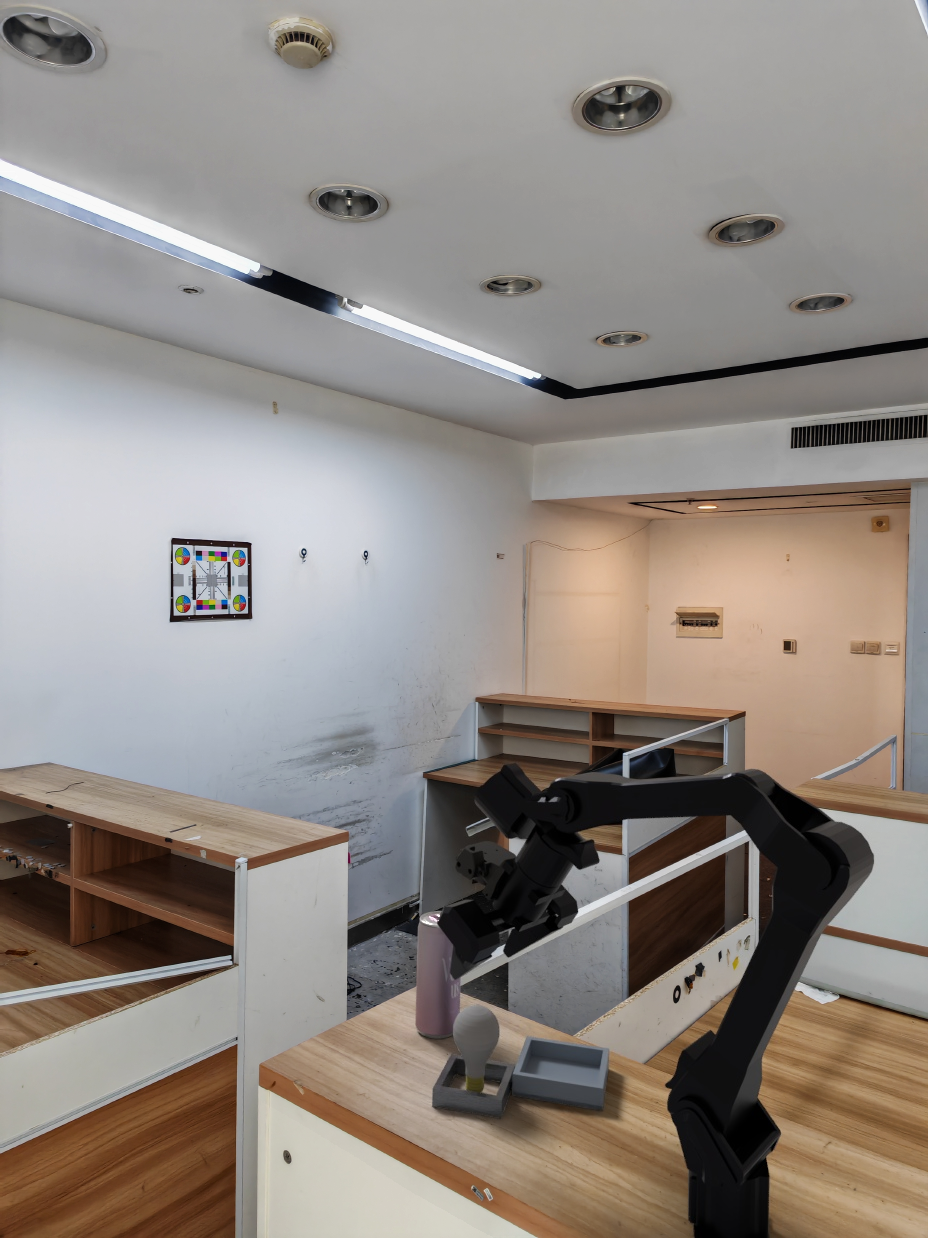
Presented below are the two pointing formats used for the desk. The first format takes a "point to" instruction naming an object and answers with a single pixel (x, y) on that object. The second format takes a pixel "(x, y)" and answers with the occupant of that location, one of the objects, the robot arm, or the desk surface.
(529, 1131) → the desk surface
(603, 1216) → the desk surface
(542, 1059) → the parts tray
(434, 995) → the beverage can
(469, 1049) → the light bulb
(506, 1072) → the frame
